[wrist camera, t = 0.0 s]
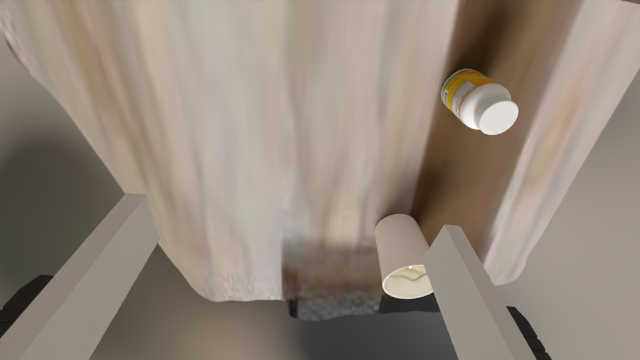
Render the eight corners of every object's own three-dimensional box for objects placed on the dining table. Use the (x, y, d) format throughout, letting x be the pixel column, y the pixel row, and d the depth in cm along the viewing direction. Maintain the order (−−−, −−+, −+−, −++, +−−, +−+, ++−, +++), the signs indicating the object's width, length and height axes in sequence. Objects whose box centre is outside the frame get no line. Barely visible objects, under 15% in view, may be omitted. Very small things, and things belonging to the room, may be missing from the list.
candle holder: (415, 243, 56) (436, 298, 47) (368, 244, 56) (379, 299, 47) (425, 209, 50) (451, 264, 41) (373, 211, 50) (386, 265, 41)
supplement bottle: (490, 80, 36) (537, 109, 28) (459, 113, 39) (495, 148, 31) (461, 59, 34) (503, 84, 27) (431, 95, 37) (462, 127, 30)
